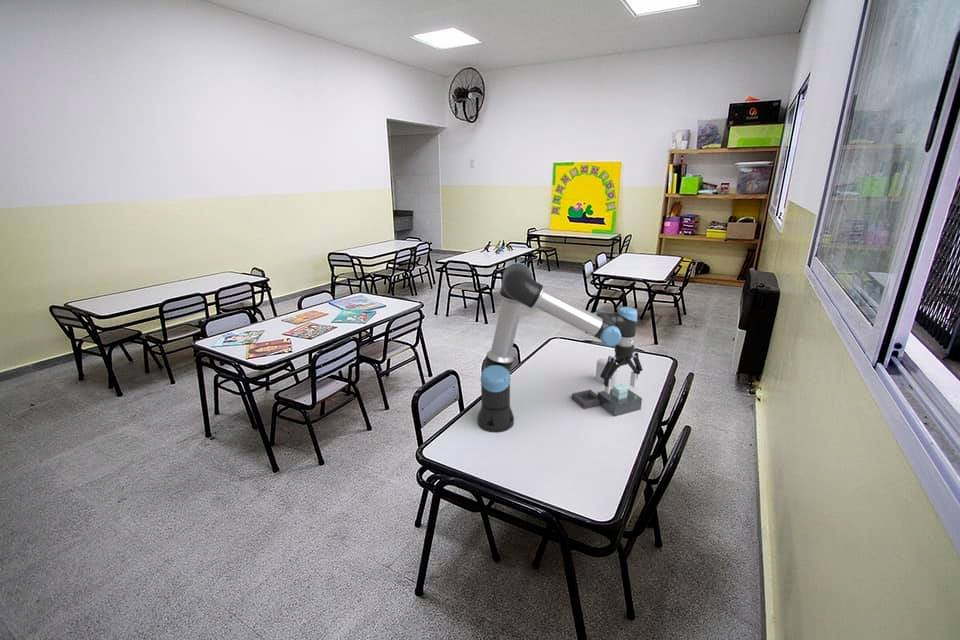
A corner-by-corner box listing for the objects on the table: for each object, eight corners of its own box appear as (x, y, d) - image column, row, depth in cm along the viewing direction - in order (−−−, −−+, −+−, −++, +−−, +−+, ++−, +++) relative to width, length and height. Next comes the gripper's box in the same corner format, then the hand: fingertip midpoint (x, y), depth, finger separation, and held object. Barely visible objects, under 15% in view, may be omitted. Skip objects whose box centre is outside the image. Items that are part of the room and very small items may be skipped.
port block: (614, 417, 184) (615, 404, 182) (596, 404, 194) (597, 391, 192) (640, 410, 189) (642, 397, 186) (622, 397, 199) (623, 385, 197)
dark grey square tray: (584, 410, 190) (584, 404, 189) (571, 399, 198) (571, 393, 197) (603, 405, 193) (603, 399, 192) (589, 395, 202) (590, 389, 201)
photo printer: (593, 380, 215) (595, 357, 211) (599, 378, 218) (601, 355, 214) (611, 388, 208) (613, 364, 204) (617, 385, 210) (619, 362, 206)
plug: (617, 409, 188) (619, 390, 185) (610, 403, 192) (612, 385, 189) (626, 406, 190) (628, 388, 187) (619, 401, 194) (621, 383, 191)
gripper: (605, 352, 174) (601, 399, 181) (654, 342, 182) (649, 387, 190) (594, 345, 180) (590, 391, 187) (642, 336, 189) (637, 380, 196)
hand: (619, 389), depth 188 cm, fingers open, 13 cm apart
